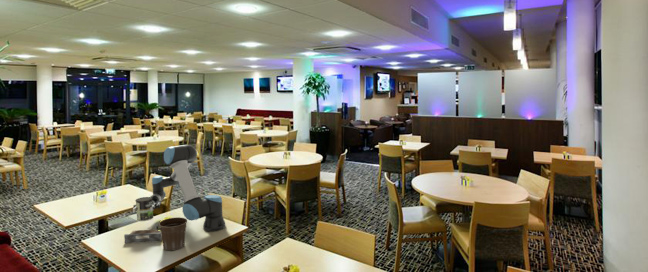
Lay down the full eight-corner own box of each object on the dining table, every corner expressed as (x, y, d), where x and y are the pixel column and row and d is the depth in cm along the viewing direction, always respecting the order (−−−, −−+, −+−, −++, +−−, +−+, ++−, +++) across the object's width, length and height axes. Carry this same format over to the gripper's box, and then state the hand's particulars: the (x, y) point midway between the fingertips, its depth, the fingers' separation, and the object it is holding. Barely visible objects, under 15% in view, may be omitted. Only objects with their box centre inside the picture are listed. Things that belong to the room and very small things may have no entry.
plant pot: (193, 242, 224) (192, 218, 222) (178, 253, 208) (176, 227, 206) (171, 240, 227) (169, 216, 225) (154, 251, 211) (152, 225, 209)
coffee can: (156, 216, 245) (155, 197, 243) (146, 221, 235) (145, 201, 233) (144, 215, 247) (142, 196, 245) (133, 220, 237) (131, 200, 235)
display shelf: (167, 233, 238) (166, 225, 237) (160, 241, 225) (160, 233, 224) (133, 234, 235) (132, 227, 235) (124, 243, 222) (124, 235, 221)
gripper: (170, 204, 259) (160, 214, 237) (138, 205, 257) (124, 216, 235) (169, 194, 258) (159, 204, 237) (137, 196, 256) (124, 205, 234)
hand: (142, 210), depth 236 cm, fingers closed on coffee can, 10 cm apart
